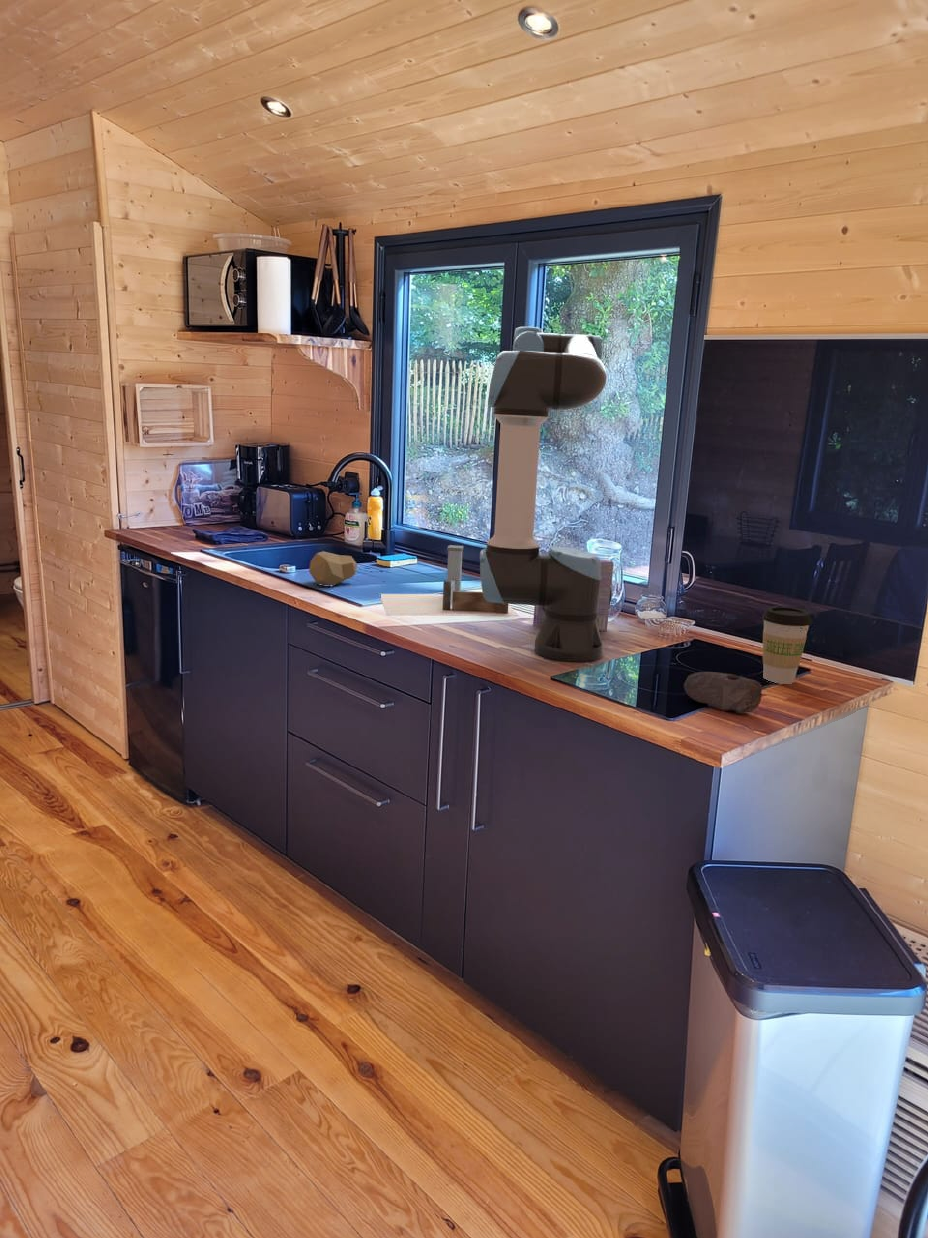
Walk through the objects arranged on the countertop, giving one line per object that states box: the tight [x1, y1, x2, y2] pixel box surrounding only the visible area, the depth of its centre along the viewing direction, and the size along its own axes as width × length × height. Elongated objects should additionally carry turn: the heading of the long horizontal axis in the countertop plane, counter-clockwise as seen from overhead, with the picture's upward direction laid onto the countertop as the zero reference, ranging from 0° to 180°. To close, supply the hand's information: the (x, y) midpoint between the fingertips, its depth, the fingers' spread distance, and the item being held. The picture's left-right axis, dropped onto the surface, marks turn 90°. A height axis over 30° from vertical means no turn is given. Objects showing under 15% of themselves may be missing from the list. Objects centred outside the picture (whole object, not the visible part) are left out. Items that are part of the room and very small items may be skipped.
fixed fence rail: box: [442, 580, 508, 614], centre depth 239 cm, size 17×3×8 cm, turn 90°
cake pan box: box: [532, 559, 614, 632], centre depth 227 cm, size 19×5×18 cm, turn 99°
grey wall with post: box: [446, 544, 464, 605], centre depth 247 cm, size 16×4×14 cm, turn 174°
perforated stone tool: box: [683, 671, 763, 715], centre depth 175 cm, size 15×5×7 cm, turn 47°
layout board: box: [380, 593, 520, 617], centre depth 246 cm, size 24×34×1 cm
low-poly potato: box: [308, 551, 358, 586], centre depth 264 cm, size 15×11×12 cm
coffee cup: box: [761, 605, 813, 685], centre depth 193 cm, size 10×10×15 cm
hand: (521, 479), depth 247 cm, fingers closed
